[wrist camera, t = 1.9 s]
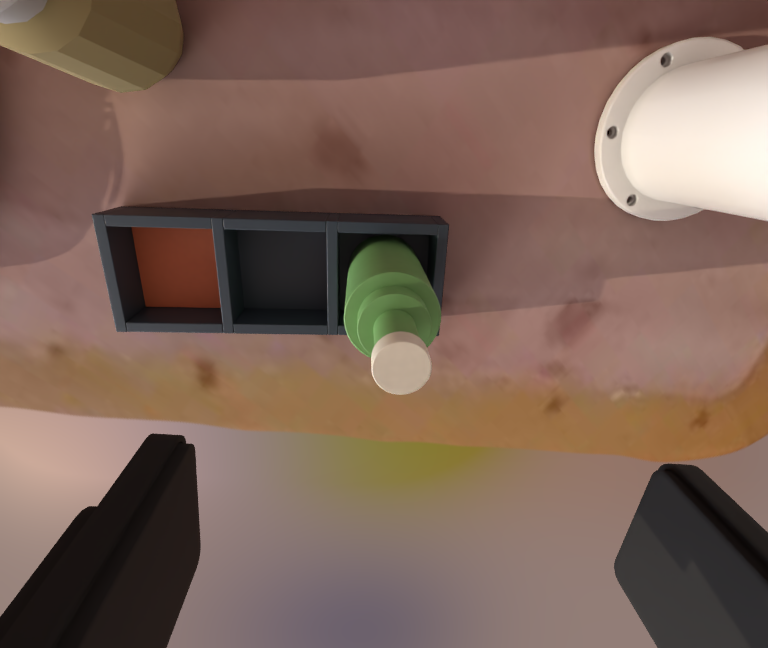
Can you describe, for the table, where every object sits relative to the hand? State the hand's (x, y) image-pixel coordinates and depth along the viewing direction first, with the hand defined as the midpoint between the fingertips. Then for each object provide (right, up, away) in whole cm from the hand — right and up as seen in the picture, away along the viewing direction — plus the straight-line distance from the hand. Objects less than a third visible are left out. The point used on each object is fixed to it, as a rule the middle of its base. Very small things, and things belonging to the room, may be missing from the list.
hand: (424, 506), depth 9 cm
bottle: (-1, +8, +27) cm, 28 cm away
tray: (-9, +9, +27) cm, 30 cm away
